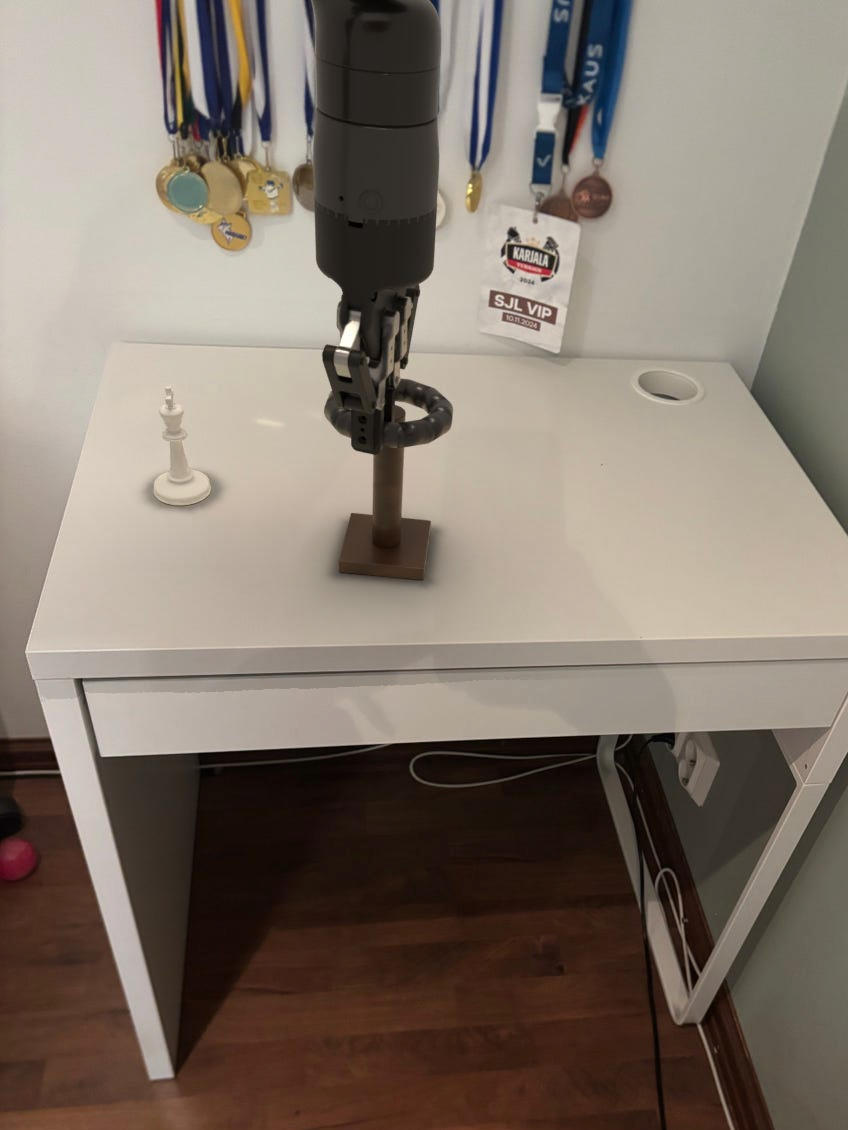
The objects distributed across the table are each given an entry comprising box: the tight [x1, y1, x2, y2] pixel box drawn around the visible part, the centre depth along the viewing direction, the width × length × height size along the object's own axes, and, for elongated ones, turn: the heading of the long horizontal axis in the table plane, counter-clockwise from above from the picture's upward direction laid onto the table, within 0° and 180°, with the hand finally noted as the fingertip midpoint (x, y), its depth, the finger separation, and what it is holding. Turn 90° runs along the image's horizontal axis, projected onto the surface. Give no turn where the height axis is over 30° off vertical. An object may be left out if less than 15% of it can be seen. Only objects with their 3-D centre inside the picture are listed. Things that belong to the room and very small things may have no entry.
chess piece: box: [153, 385, 212, 506], centre depth 82 cm, size 5×5×10 cm
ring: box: [323, 377, 454, 449], centre depth 72 cm, size 10×10×2 cm
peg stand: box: [338, 404, 432, 581], centre depth 77 cm, size 7×7×13 cm
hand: (372, 441), depth 70 cm, fingers closed on ring, 2 cm apart
